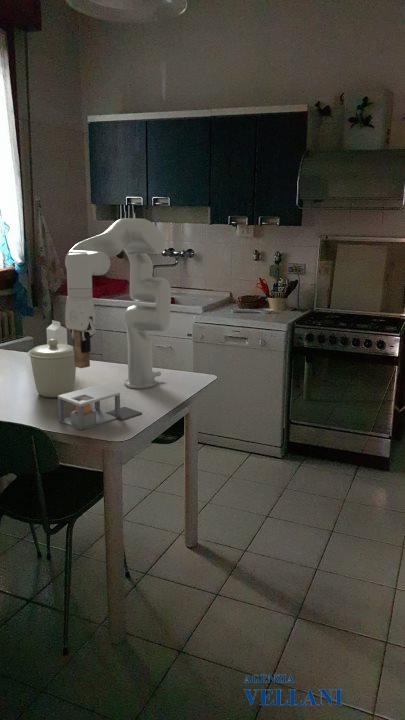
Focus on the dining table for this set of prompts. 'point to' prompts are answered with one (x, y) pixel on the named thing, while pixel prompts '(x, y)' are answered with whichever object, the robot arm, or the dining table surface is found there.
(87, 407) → the breaker button
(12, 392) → the dining table surface
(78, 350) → the brown wooden bar
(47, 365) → the canister
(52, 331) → the milk
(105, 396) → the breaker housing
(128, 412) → the pad
